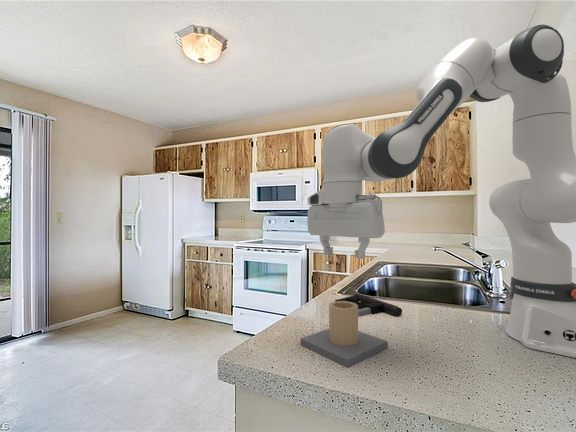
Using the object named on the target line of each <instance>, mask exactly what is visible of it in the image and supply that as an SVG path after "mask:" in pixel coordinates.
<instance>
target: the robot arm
mask: <svg viewBox="0 0 576 432" xmlns="http://www.w3.org/2000/svg"><path fill="white" fill-rule="evenodd" d="M564 56H565V42H564V38H563V36H562V34H561V33H560V31H559V30H557V29H555V28H554V27H552V26H550V25H547V24H538V25H533V26H531V27H529V28H527V29H524V30H522V31H521V32H519V33H517V34H516V35H515V36H514V37H513V38H510V39H509V40H507V41H506V42H504V43H503V44H500V45H499V46H498V47H497V48H493V47H492V45H491V43H489V42H488V41H487V40H485V39H483V38H480V37H470V38H469V37H468V38H467V39H464V40H462V41H461V42H459V43H458V44H457V45H455V46H454V47H452V49H450V50H448V52H446V53H445V54H444V55H443V56H442V57H441V58H440V59H439V60H438V61H437V62H436V63H435V64H434V65H433V66H431V67H432V68H431V69H429V71H428V72H427V73H426V74H425V76H424V77H423V79H421V81H420V83H419V84H418V87H417V89H416V98H417V101H418V104H417V105H416V106H415V107H414V109H412V111H411V112H410V113H409V114H408V116H406V118H405V119H404V120H403V121H402V122H400V123H398V124H396V125H394V126H391V127H389V128H386V129H385V130H384V131H382V132H381V133H379V134H378V135H377V136H376V137H375V136H373V135H370V134H369V133H367V132H365V131H363V130H362V129H361V128H359V126H358V125H357V124H355V123H343V124H339V125H336V126H333V127H332V128H330V129H329V130H328V131H327V132H326V134H325V135H324V137H323V142H322V161H321V162H322V168H323V174H324V176H323V180H322V188H320V189H319V190H318V191H316V192H315V193H313V194H311V195H309V196H308V197H307V204H308V206H309V207H308V210H307V221H306V222H307V232H308V233H309V234H310V235H311V236H319V242H320V243H321V245H322V247H323V254H324V255H328V256H330V255H333V254H334V251H333V250H334V247H333V246H331V244H330V242H329V241H330V240H331V237H341V238H342V237H343V238H344V237H345V238H346V237H347V238H358V243H359V247H358V249H355V250H354V258H355V259H360V260H362V259H365V258H366V250H367V248H368V246H369V245H370V243H371V242H370V239H379V238H382V237H383V236H384V234H385V233H386V229H385V220H384V213H383V200H382V199H381V197H380V196H378V195H376V194H375V193H371V194H363V192H362V191H363V187H362V185H363V184H362V181H366V182H371V183H380V182H386V181H390V180H393V179H402V178H405V177H408V176H409V175H411V174H412V173H414V172H415V170H416V169H418V167H419V165H420V164H421V161H422V159H423V156H424V153H425V150H426V147H427V146H428V143H429V141H430V140H431V138H432V137H433V135H435V133H436V132H437V131H438V129H439V128H440V127H441V126H442V125H443V123H444V122H445V121H446V119H448V118H449V116H450V115H451V114H452V113H453V112H455V111H456V110H457V109H458V108H459V107H461V105H462V104H464V103H465V102H466V101H467V100H468V98H469V97H470V98H471V99H472V100H473V101H476V102H478V103H489V102H492V101H493V102H494V101H497V100H498V99H500V98H501V97H504V96H507V95H509V96H510V98H511V100H512V103H513V110H512V111H513V112H512V155H513V156H514V158H515V159H517V160H519V161H520V162H523V163H524V164H525V166H527V168H528V171H529V175H530V178H527V179H519V180H512V181H510V182H507V183H504V184H502V185H500V186H498V187H496V188H495V189H493V191H492V192H491V194H490V196H489V201H488V202H489V208H490V210H491V213H492V214H493V215H494V216H495V217H497V218H498V219H499V220H500V222H501V223H502V225H503V226H504V229H505V231H506V233H507V235H508V239H509V243H510V245H511V255H512V257H511V258H512V276H511V277H510V284H509V287H510V288H509V291H510V292H509V293H510V299H511V308H510V314H509V318H508V322H507V326H506V328H505V333H506V335H508V336H509V337H510V338H512V339H514V340H515V341H518V342H519V343H521V344H522V345H523V346H524V347H526V348H529V349H532V350H536V351H542V352H546V353H551V354H556V355H561V356H565V357H568V358H569V357H570V358H575V359H576V283H574V282H573V267H572V266H573V264H572V262H573V261H572V259H573V258H572V257H573V255H572V251H571V248H570V246H568V244H567V243H565V242H564V241H562V240H561V239H559V238H558V237H557V236H556V234H555V232H554V230H553V229H552V226H551V223H552V224H570V223H571V224H572V223H576V153H575V150H574V147H573V145H574V144H573V133H572V131H573V130H572V101H571V96H570V90H569V86H568V82H567V79H566V78H565V76H564V75H563V74H561V73H560V71H561V69H562V67H563V66H562V65H563V59H564Z"/></svg>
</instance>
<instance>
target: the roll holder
mask: <svg viewBox="0 0 576 432" xmlns="http://www.w3.org/2000/svg"><path fill="white" fill-rule="evenodd" d="M300 346H302V347H304V348H306V349H309V350H310V351H313V352H315V353H317V354H319V355H321V356H323V357H325V358H327V359H329V360H332V361H334V362H335V363H338V364H340V365H342V366H344V367H345V368H349V367H351V366H354V365H355V364H357V363H360V362H361V361H363V360H366V359H367V358H369V357H371V356H374V355H376V354H378V353H380V352H382V351H384V350H386V349H388V346H389V343H388V340H386V339H383V338H380V337H377V336H374V335H371V334H368V333H365V332H362V331H360V330H358V342H357V343H356V344H354V345H349V346H343V345H337V344H334V343H332V342H331V341H330V340H329V328H327V329H324V330H321V331H318V332H315V333H312V334H310V335H306V336H303V337H301V338H300Z"/></svg>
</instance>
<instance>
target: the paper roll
mask: <svg viewBox="0 0 576 432" xmlns="http://www.w3.org/2000/svg"><path fill="white" fill-rule="evenodd" d="M334 301H335V300H334ZM334 301H332V302H330V303H329V304H328V329H329V340H330V341H331V342H332V343H334V344H337V345H343V346H349V345H354V344H356V343H357V342H358V331H359V317H358V310H359V309H358V305H357V304H356V303H352V302H347V301H335V302H334Z"/></svg>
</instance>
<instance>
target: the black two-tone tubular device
mask: <svg viewBox="0 0 576 432" xmlns="http://www.w3.org/2000/svg"><path fill="white" fill-rule="evenodd" d="M335 301H347V302H352V303H356V304H357V305H358V318H359V317H363V316H368V315H377V314H382V313H386V314H389V315H391V316H394V317H400V316H401V315H402V313H403V309H402V308H401V307H399V306H398V305H395V304H391V303H388V302H385V301H382V300H380V299H377V298H374V297H370V296H367V295H364V294H361V293H354V294H353V295H350V296H346V297H342V298H339V299H335V300H334V301H333V302H335Z"/></svg>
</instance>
